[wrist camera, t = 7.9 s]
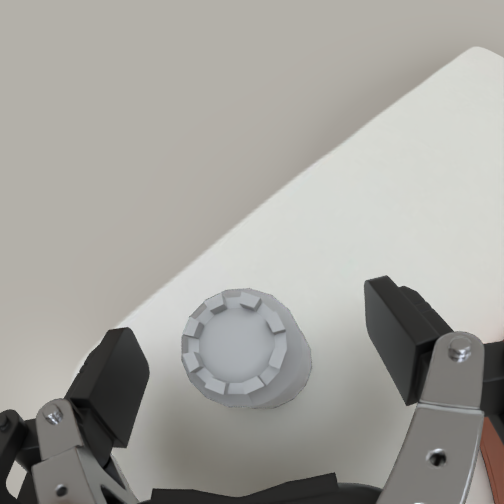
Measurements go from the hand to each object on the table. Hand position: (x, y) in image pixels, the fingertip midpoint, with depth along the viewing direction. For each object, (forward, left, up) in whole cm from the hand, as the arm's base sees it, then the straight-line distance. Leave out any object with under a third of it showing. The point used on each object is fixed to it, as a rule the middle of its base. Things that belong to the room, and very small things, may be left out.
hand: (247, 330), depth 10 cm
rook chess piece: (0, -1, -5) cm, 5 cm away
